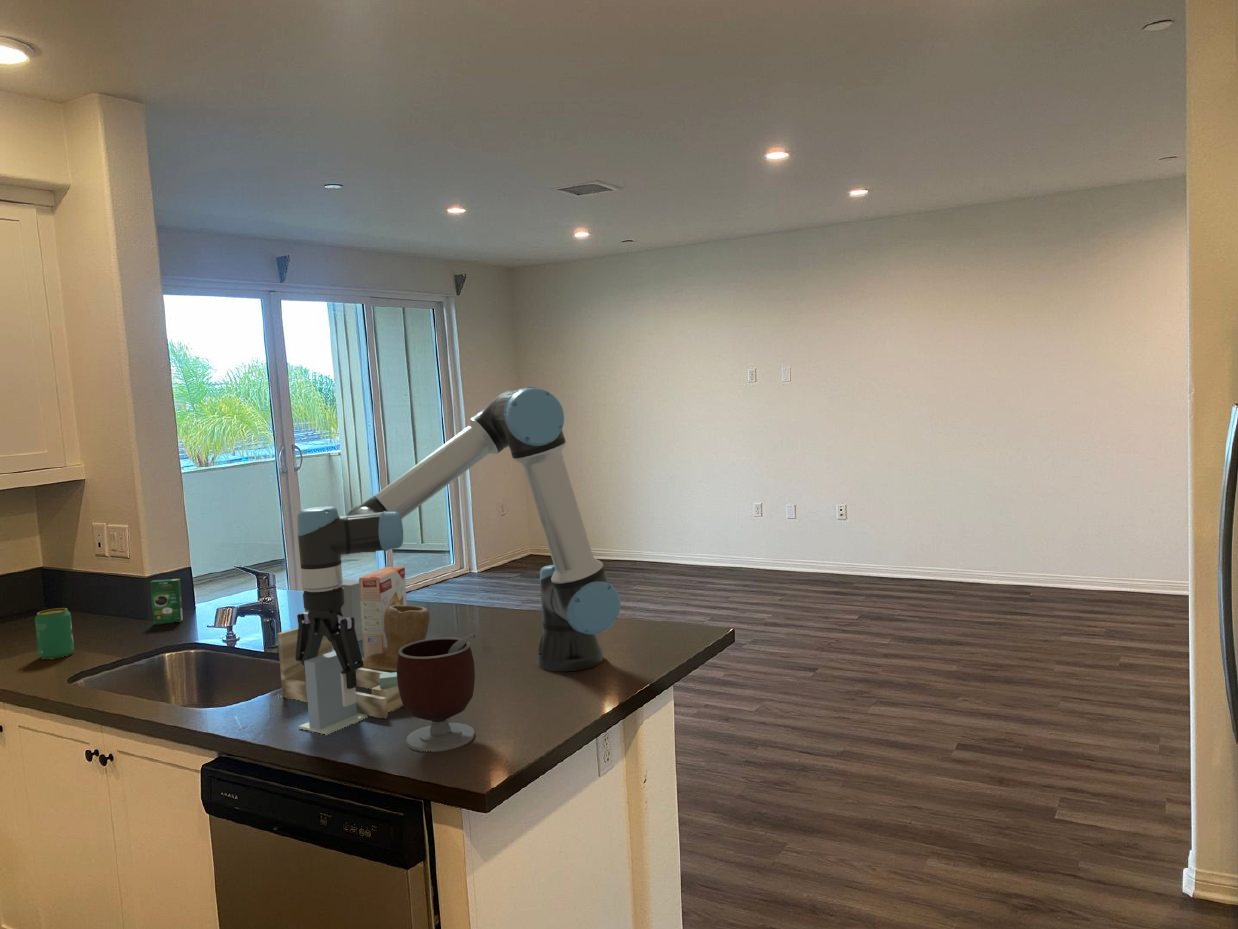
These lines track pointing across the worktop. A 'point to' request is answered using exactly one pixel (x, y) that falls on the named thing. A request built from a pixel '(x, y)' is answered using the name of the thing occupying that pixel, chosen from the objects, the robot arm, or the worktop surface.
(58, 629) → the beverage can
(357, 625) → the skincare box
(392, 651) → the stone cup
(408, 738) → the mate gourd
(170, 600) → the coffee box
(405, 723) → the worktop surface
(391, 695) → the offcut pine
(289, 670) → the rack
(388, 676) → the offcut teal
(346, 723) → the pad
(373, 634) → the cracker box
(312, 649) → the robot arm
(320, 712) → the tall white upright block
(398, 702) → the offcut oak
